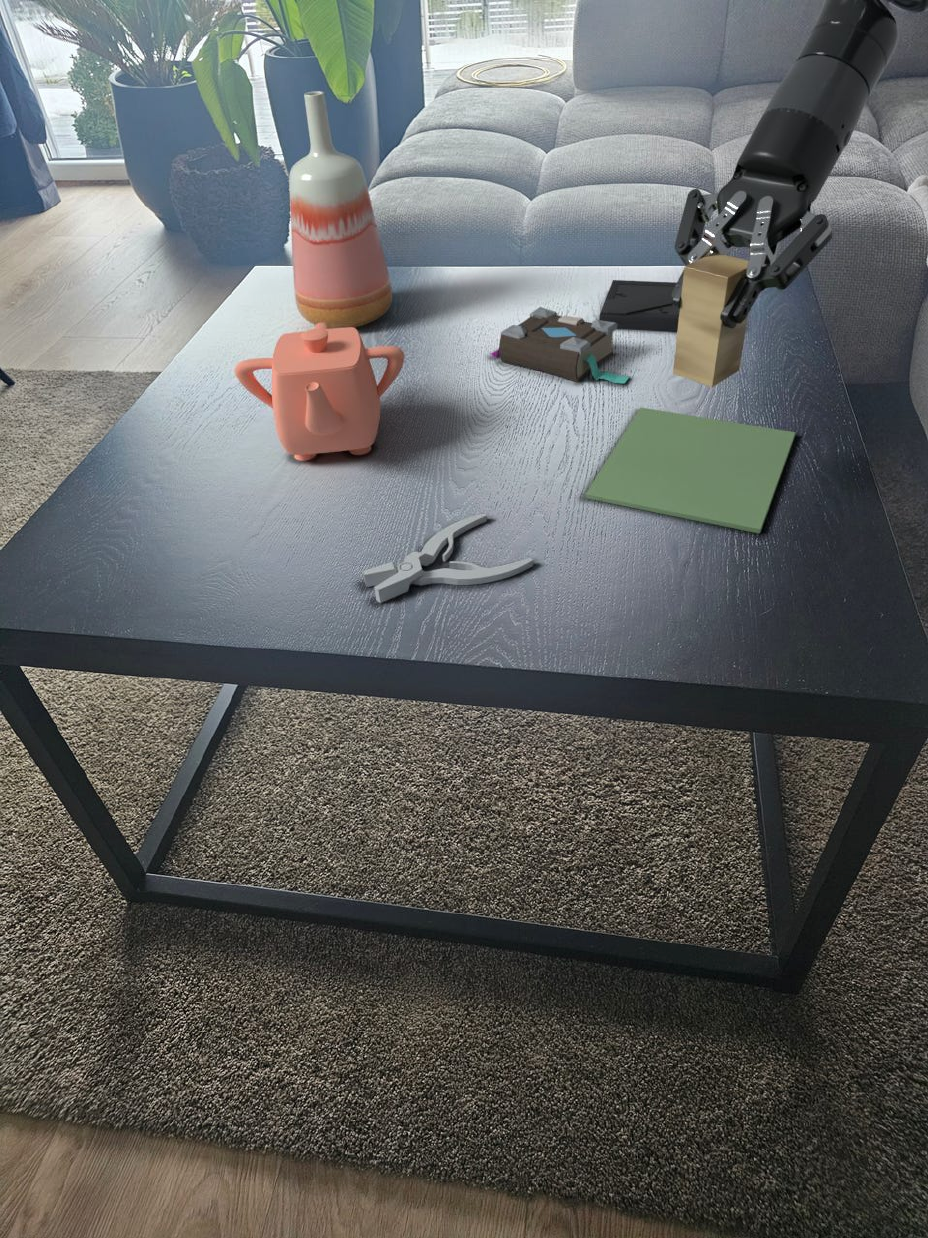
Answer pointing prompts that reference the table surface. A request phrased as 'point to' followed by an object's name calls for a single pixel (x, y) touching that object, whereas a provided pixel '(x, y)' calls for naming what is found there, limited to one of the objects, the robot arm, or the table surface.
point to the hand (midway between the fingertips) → (702, 315)
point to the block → (709, 321)
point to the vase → (334, 233)
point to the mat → (695, 469)
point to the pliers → (410, 571)
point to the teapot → (323, 390)
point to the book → (559, 345)
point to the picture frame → (641, 306)
